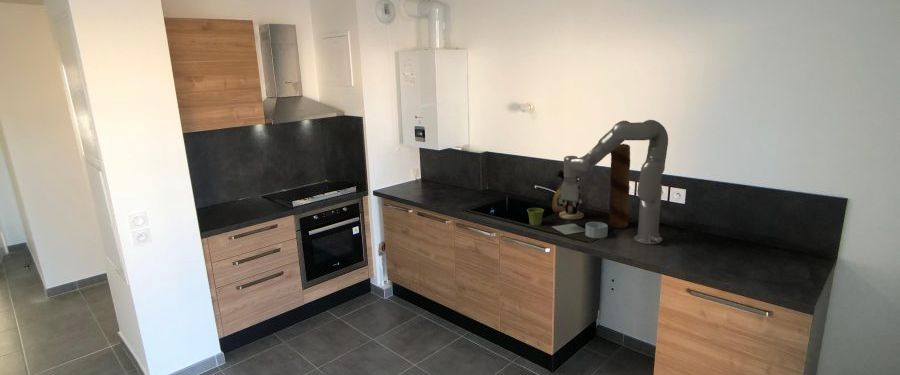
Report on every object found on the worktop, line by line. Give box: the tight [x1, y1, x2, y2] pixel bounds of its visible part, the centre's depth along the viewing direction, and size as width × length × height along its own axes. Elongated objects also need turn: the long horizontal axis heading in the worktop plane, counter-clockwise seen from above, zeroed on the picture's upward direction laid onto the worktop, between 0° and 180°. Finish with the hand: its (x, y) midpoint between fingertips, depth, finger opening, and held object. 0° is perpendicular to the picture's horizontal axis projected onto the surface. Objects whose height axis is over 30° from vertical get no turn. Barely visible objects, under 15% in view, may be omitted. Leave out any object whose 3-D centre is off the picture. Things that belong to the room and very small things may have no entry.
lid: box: [559, 205, 584, 220], centre depth 266 cm, size 12×12×6 cm
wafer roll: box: [608, 143, 631, 229], centre depth 269 cm, size 10×11×45 cm
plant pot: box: [526, 207, 545, 226], centre depth 279 cm, size 9×9×9 cm
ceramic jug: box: [551, 169, 580, 219], centre depth 288 cm, size 17×15×30 cm
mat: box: [552, 223, 585, 235], centre depth 268 cm, size 14×14×1 cm
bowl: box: [584, 221, 609, 239], centre depth 257 cm, size 11×11×6 cm
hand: (571, 212), depth 266 cm, fingers closed on lid, 3 cm apart
